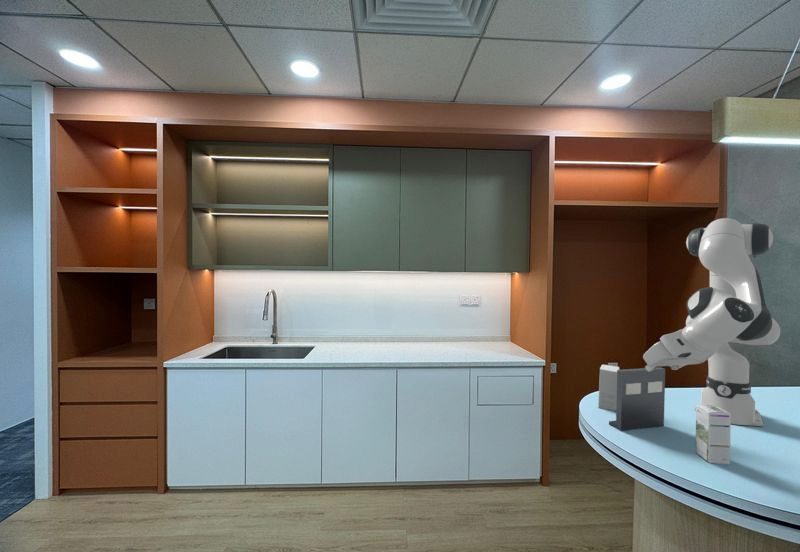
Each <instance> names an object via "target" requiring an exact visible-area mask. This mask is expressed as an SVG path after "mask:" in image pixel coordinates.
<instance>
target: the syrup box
mask: <svg viewBox="0 0 800 552" xmlns="http://www.w3.org/2000/svg"><path fill="white" fill-rule="evenodd" d="M695 407H696V410H695V453H696V454H697V455H698V456H699V457H701V458H702V459H703V460H705V461H706V462H707V463H710V464H716V465H717V464H718V465H728V466H729V465H731V425H732V424H731V414H730V413H728V412H727V411H725V410H723V409H721V408H719V407H717V406H711V405H700V404H696V405H695Z"/></svg>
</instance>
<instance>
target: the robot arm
mask: <svg viewBox="0 0 800 552" xmlns="http://www.w3.org/2000/svg"><path fill="white" fill-rule="evenodd" d="M773 242H774V234H773V231H772V229H770V227H769V226H768V225H767V224H765V223H757V222H756V223H755V222H754V223H751V224H749V223H748V224H747V223H741V222H740V221H738V220H737V219H734V218H729V217H725V218H724V217H722V218H718V219H717V218H716V220H713V221H711V222H710V223H709V224H708V225H707V226H706V227H698V228H694V229H692V230H691V231H690V232H689V234H688V235H687V237H686V241H685V244H686V249H687V250H688V253H689V254H690V255H691V256H693V257H698V258H699V261H700V263H701V265H702V266H703V267H704V268H705V269H707V270H708V271H709V286H707V287H703V288H699V289H698V290H696V291H695V292H693V293H692V294H691V296H689V298H687V301H686V304H685V305H686V309H687V312H688V315H687V317H686V320H685V326H684V327H683V328H681V329H679V330H676V331H674V332H671V333H667V334H663V335H662V336H661V337H660V338H659V340H660V341H658V342H656V343H654V344H653V345H652V346H651V347H649V349H648V350H647V351H645V353H643V355H642V358H643V360H644V362H645V363H646V365H645V367H644V368H646V370H647V371H648V372H651V371H654V370H655V369H656V368H655V367H669V368H670V369H671V370H673V371H677V370H680V368H684V367H685V366H688V365H700V364H702V363H705V362H706V361H707V364H708V375H707V376H706V380H705V381H706V387H704V388H703V389H701V393H700V404H699V405H711V406H717V407H719V408H721V409H723V410H725V411H727V412H728V413H730V414H731V425H738V426H739V425H740V426H755V427H756V426H757V427H764V422H763V419H762V416H761V413H760V412H759V411H758V409H756V400H755V399H754V398H753V396H752V395H751V393H752V385H751V382H750V362H749V360H748V359H747V357H746V356H744V355H742V354H741V353H739V352H737V351H736V350H734V349H732V347H731V346H730V344H729V343H734V344H735V343H736V344H741V345H750V346H771V345H772V344H774V343H775V342H776V341H778V340H779V338H780V336H781V327H780V324H779V323H778V322H777V321H776V319H774V318H773V316H772V315H771V312H770V311H769V309H768V307H767V304H766V300H765V295H764V290H763V285H762V281H761V277H760V273H759V271H758V269H757V268H756V266H754V264H753V262H752V261H751V259H750V257H749V256H752V258H753V259H756V258H757V256H761V255H763V254H765V253H766V252H768V251H769V250H770V248H771V246H772V245H773ZM694 410H695V411H696V406H695V407H694Z"/></svg>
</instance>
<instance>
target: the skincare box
mask: <svg viewBox="0 0 800 552" xmlns="http://www.w3.org/2000/svg"><path fill="white" fill-rule="evenodd" d="M617 370H620V366H615V365H610V364H601V366H600V367H599V378H598V379H599V382H598V404H597V405H598V406H597V407H598V409H603V410H608V411H613V412H616V404H617Z"/></svg>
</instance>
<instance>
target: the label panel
mask: <svg viewBox="0 0 800 552" xmlns="http://www.w3.org/2000/svg"><path fill="white" fill-rule="evenodd" d="M655 368H656V369H655V370H654V371H651V372H648V371H647V370H646V368H645V367H642V368H629V369H628V368H627V369H624V368H623V369H619V370H617V404H616V411H615V412H616V413H615V420H609V421H608V425H609V426H611V427H612V428H615V429H616V430H618V431H620V432H623V431H624V432H625V431H631V430H632V431H633V430H642V429H643V428H644V429H651V427H652V428H659V427H664V426H665V400H666V399H665V394H666V390H665V389H666V368H663V367H662V366H658V367H655ZM644 429H643V430H644Z"/></svg>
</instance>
